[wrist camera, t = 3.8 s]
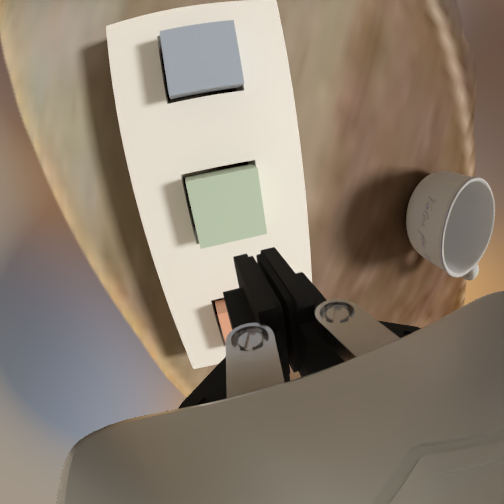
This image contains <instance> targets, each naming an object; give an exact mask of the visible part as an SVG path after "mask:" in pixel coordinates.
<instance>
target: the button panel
mask: <svg viewBox="0 0 504 504" xmlns="http://www.w3.org/2000/svg"><path fill="white" fill-rule="evenodd" d="M228 20H234V25H235V31H236V36H237V42H238V48H239V54H240V60H241V66H242V72H243V78H244V84H243V85H242V86H240V87H239V88H236V92H229V93H222V94H216V95H210V96H204V97H198V98H193V99H188V100H183V101H178V102H174V103H169V102H168V96H167V90H166V84H165V77H164V71H163V64H162V58H161V51H160V47H162V46H161V38H160V31H162V30H167V29H172V28H177V27H183V26H189V25H195V24H202V23H209V22H218V21H228ZM106 32H107V43H108V53H109V62H110V70H111V78H112V85H113V92H114V98H115V104H116V110H117V116H118V121H119V127H120V132H121V137H122V142H123V147H124V152H125V156H126V161H127V165H128V170H129V174H130V178H131V182H132V186H133V190H134V194H135V198H136V202H137V206H138V210H139V213H140V217H141V220H142V224H143V228H144V231H145V234H146V238H147V241H148V245H149V248H150V251H151V254H152V258H153V261H154V264H155V267H156V270H157V273H158V276H159V279H160V282H161V285H162V288H163V291H164V294H165V297H166V299H167V302H168V305H169V308H170V311H171V313H172V316H173V319H174V321H175V324H176V327H177V329H178V332H179V334H180V337H181V340H182V342H183V345H184V347H185V350H186V352H187V354H188V357H189V359H190V362H191V364H192V367H193V369H196V368H201V367H206V366H210V365H215V364H219V363H220V362H221V361H222V360H223V359H224V358H225V357H226V343H225V340H224V336H223V333H222V329H221V328H220V327H219V323H218V320H217V316H216V312H215V309H214V305H213V301H212V300H216V299H220V298H224V296H223V292H225V291H229V290H233V289H237V288H239V284H238V279H237V275H236V270H235V265H234V259H233V257H234V256H238V255H243V254H247V255H248V256H249V257H250V256H253V257H254V259H255V260H256V262H257V257H256V256H257V255H258V254H261V250H264V249H268V248H272V247H275V248H276V250H277V251H278V252H279V253H280V255H281V256H282V257H283V258H284V260H285V261H286V262H287V263H288V265H289V266H290V267H291V268H292V270H293V271H294V272H295V273H299V272H303V273H304V274H305V275H306V276H307V278H308V279H309V280H310V281H311V282H312V274H311V257H310V242H309V229H308V216H307V205H306V194H305V184H304V174H303V165H302V156H301V147H300V139H299V131H298V124H297V116H296V109H295V102H294V95H293V89H292V82H291V76H290V70H289V64H288V58H287V52H286V47H285V41H284V36H283V31H282V26H281V21H280V16H279V11H278V6H277V1H276V0H249V1H231V2H219V3H210V4H201V5H194V6H188V7H181V8H176V9H170V10H165V11H160V12H156V13H151V14H147V15H143V16H139V17H135V18H132V19H128V20H124V21H121V22H118V23H114V24H111V25H108V26H106ZM246 161H248V165H249V164H252V165H254V166H256V167H258V174H259V181H260V188H261V195H262V201H263V208H264V216H265V223H266V230H267V234H264V235H260V236H255V237H251V238H246V239H242V240H237V241H233V242H229V243H224V244H220V245H215V246H211V247H207V248H202V249H201V248H200V244H199V240H198V236H197V232H196V231H195V230H194V225H193V221H192V217H191V212H190V208H189V203H188V199H187V194H186V190H185V185H184V180H183V176H182V175H183V174H187V173H191V172H196V171H200V170H205V169H210V168H215V167H220V166H225V165H230V164H235V163H241V162H246Z"/></svg>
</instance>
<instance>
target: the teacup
mask: <svg viewBox="0 0 504 504" xmlns="http://www.w3.org/2000/svg"><path fill="white" fill-rule="evenodd" d="M494 217H495V204H494V197H493V193H492V190H491V188H490V186H489V184H488V183H487V182H486V181H485V180H484V179H482V178H479V177H470V176H466V175H462V174H458V173H452V172H443V171H441V172H435V173H432V174H430V175H428V176H426V177H425V178H424V179H423V180H422V181H421V182H420V183H419V184H418V185H417V187H416V188H415V190H414V192H413V194H412V196H411V198H410V200H409V204H408V208H407V216H406V227H407V233H408V237H409V240H410V242H411V244H412V246H413V248H414V249H415V250H416V251H417V252H418V253H419V254H420V255H421V256H422V257H424V258H425V259H426V260H428V261H430V262H431V263H433V264H434V265H436V266H438V267H439V268H441V269H443V270H445V271H446V272H447V273H448V274H449V275H450V276H453V277H463V278H464V279H466V280H473V279H474V278H475V277H476V276H477V274H478V272H479V267H478V264H477V263H478V262H479V260H480V259H481V258H482V256H483V254H484V252H485V250H486V248H487V246H488V243H489V241H490V238H491V234H492V230H493V226H494V225H493V224H494Z"/></svg>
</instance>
